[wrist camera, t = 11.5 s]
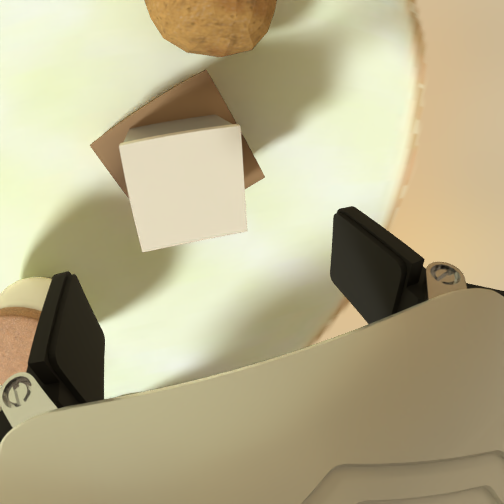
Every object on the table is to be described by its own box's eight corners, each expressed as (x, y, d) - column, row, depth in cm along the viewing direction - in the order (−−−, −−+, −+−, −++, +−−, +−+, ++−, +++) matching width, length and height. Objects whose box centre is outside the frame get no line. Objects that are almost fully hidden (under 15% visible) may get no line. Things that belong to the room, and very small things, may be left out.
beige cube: (223, 193, 24) (247, 231, 19) (142, 208, 22) (142, 252, 17) (216, 112, 20) (240, 125, 15) (127, 127, 19) (118, 145, 14)
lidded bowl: (31, 230, 25) (-8, 305, 16) (125, 300, 32) (127, 384, 23) (-13, 305, 26) (-41, 379, 17) (69, 358, 33) (63, 433, 24)
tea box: (245, 159, 28) (264, 177, 24) (159, 214, 28) (162, 241, 24) (196, 71, 23) (206, 70, 19) (100, 133, 23) (89, 145, 19)
